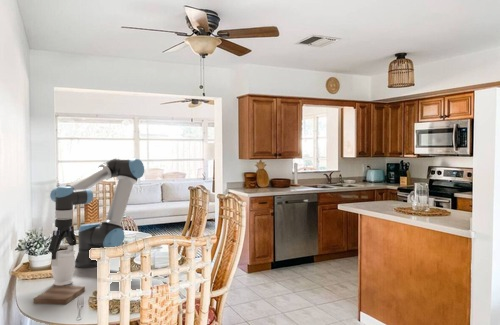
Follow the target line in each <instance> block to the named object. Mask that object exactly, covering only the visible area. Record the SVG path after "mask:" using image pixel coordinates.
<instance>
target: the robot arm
mask: <svg viewBox="0 0 500 325" xmlns="http://www.w3.org/2000/svg"><path fill="white" fill-rule="evenodd" d="M144 175H145V166H144V163H143V161H142V160H141V159H139V158H135V157H116V158H113V159H110V160H108V161H106V162H103V163H102V164H100V165H98V168H96V169H94V170H93V171H91V172H89V173H86V174H84V175H82V176H81V177H79V178H77V179H76V180H74V181H72V182H70V183H68V184H67V185H65V186H58V187H55V188H53V189H52V190H51V191H50V196H49V197H50V199H51V200H50V201H52V202H54V203H55V208H54V209H55V216H54V217H55V220H54V226H55V228H56V230H53V231H52V237H51V240H50V245H49V246H48V252H49V253H51V264H52V265H51V266H58V252H57V251H59V248H60V245H61V243H62V241H63V240H64V239H65V240H66V242H67V244H68V245H67V250H73V251H75V249H74V248H75V246H76V245H77V238H76V233H75V231H74V230H75V229H74V226H73V209H74V206H78V205H86V204H87V205H88V204H91V203H92V201H93V200H94V194H93V191H92V190H91V188H93V187H94V186H96V185H97V184H100V183H101V182H103V181H104V180H109V179H112V178H117V180H118V181H117V184H116V187H115V191H114V194H113V197H112V200H111V203H110V206H109V209H108V212H107V215H106V219H105V220H103V221H102V222H92V223H91V222H90V223H86V224H82V225H80V226H79V227H78V233H77V236H78V252H77V255H76V256H75V268H84V269H86V268H95V267H98V266H97V261H96V260H91V259H90V258H89V250H90V249H91V248H101V249H105V248H104V247H115V246H119V247H121V245H122V244H123V243H124V240H125V236H126V235H125V231H124V227H123V224H122V222H123V219H124V215H125V212H126V208H127V206H128V202H129V200H130V196H131V193H132V189H133V187H134V185H135V184H137V182H138V179H140V178H142V177H143V176H144ZM51 266H50V267H51Z"/></svg>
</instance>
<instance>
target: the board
mask: <svg viewBox="0 0 500 325" xmlns="http://www.w3.org/2000/svg"><path fill="white" fill-rule="evenodd" d="M85 291H86V286H84V285H83V286H80V285H62V286H60V285H54V286H51V287H50V288H49V289H47V290H45V291H43V292H41V293H40V294H39V295H37V296H35V297H33V304H50V305H67V304H68V303H70V302H71V301H73V300H74V299H76V298H77V297H78V296H80V295H81V294H82V293H84V292H85Z"/></svg>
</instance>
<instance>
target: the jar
mask: <svg viewBox="0 0 500 325" xmlns="http://www.w3.org/2000/svg"><path fill="white" fill-rule="evenodd" d="M57 252H58V266H50V268H51V272H52V278H53V280H54V281H53V285H54V286H55V285H60V286H68V285H70V284H72V283H73V282H74V281H73V277H74V275H75V269H76V266H75V260H76V256H75V255H76V250H74V251H73V250H68V249H62V250H57ZM51 265H52V263H51Z"/></svg>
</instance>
